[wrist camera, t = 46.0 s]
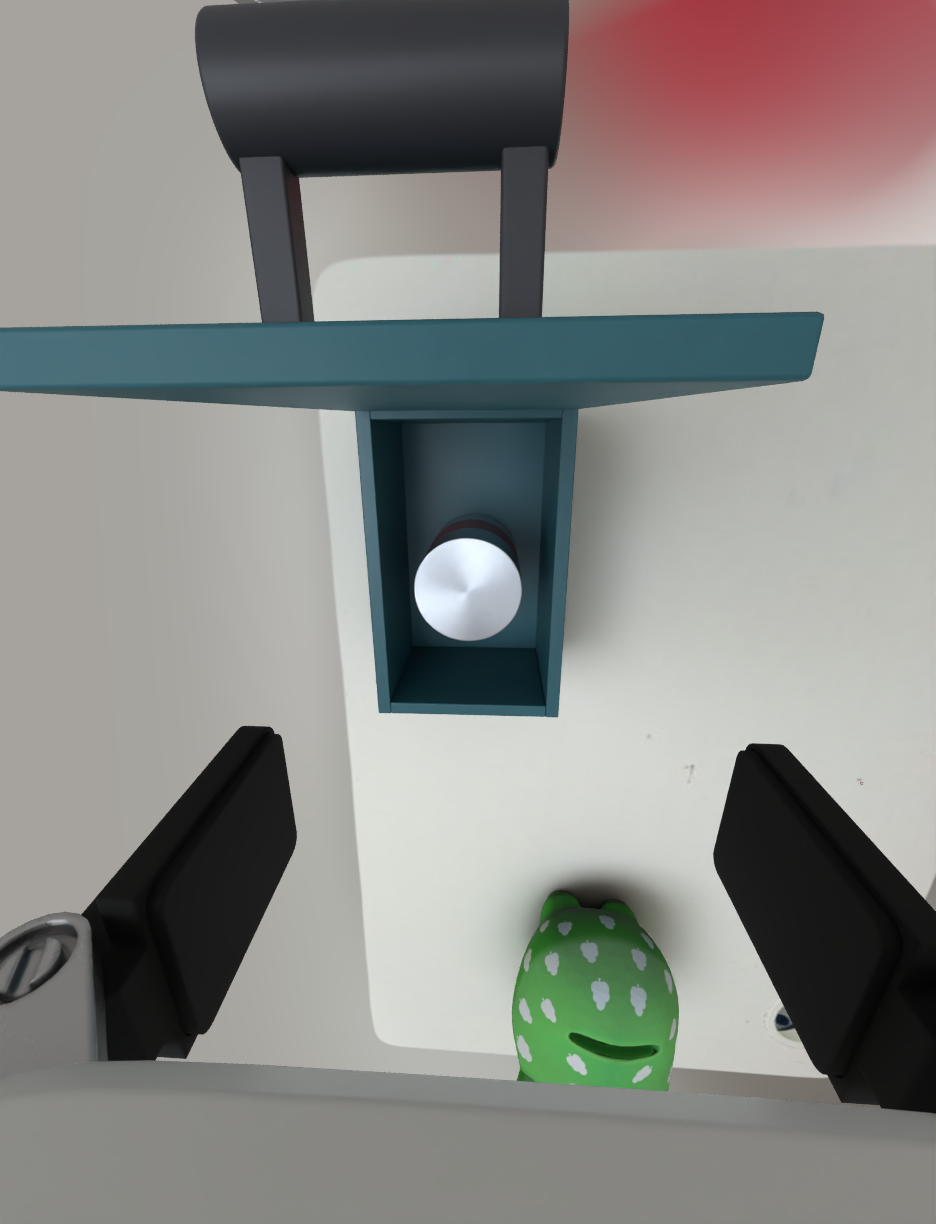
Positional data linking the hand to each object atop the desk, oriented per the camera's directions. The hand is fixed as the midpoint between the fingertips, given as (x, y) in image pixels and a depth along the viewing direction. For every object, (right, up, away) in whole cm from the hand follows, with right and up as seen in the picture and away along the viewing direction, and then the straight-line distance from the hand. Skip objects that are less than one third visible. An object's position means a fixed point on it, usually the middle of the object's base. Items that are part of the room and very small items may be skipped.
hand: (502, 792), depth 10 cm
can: (0, +8, +27) cm, 28 cm away
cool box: (0, +9, +27) cm, 29 cm away
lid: (-1, +10, +6) cm, 12 cm away
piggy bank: (+11, -30, +41) cm, 52 cm away
